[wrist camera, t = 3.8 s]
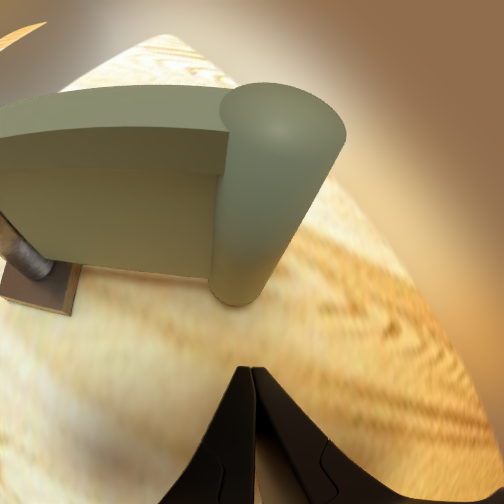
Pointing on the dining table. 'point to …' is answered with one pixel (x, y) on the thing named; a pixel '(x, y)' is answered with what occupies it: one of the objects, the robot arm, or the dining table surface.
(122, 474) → the dining table surface
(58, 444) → the dining table surface
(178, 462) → the dining table surface
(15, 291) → the hinge post
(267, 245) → the gate
